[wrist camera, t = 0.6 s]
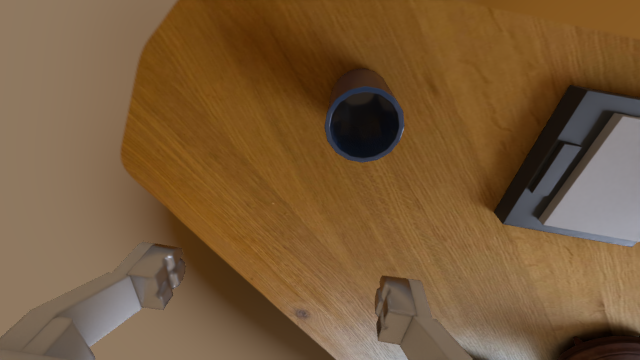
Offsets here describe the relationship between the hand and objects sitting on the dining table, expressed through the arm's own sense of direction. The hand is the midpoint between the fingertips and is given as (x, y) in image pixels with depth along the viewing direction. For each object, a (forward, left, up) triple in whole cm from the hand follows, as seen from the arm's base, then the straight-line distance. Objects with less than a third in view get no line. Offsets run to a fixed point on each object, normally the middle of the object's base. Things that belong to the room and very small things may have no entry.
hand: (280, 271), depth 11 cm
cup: (-2, +4, -23) cm, 23 cm away
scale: (+1, +32, -23) cm, 39 cm away
